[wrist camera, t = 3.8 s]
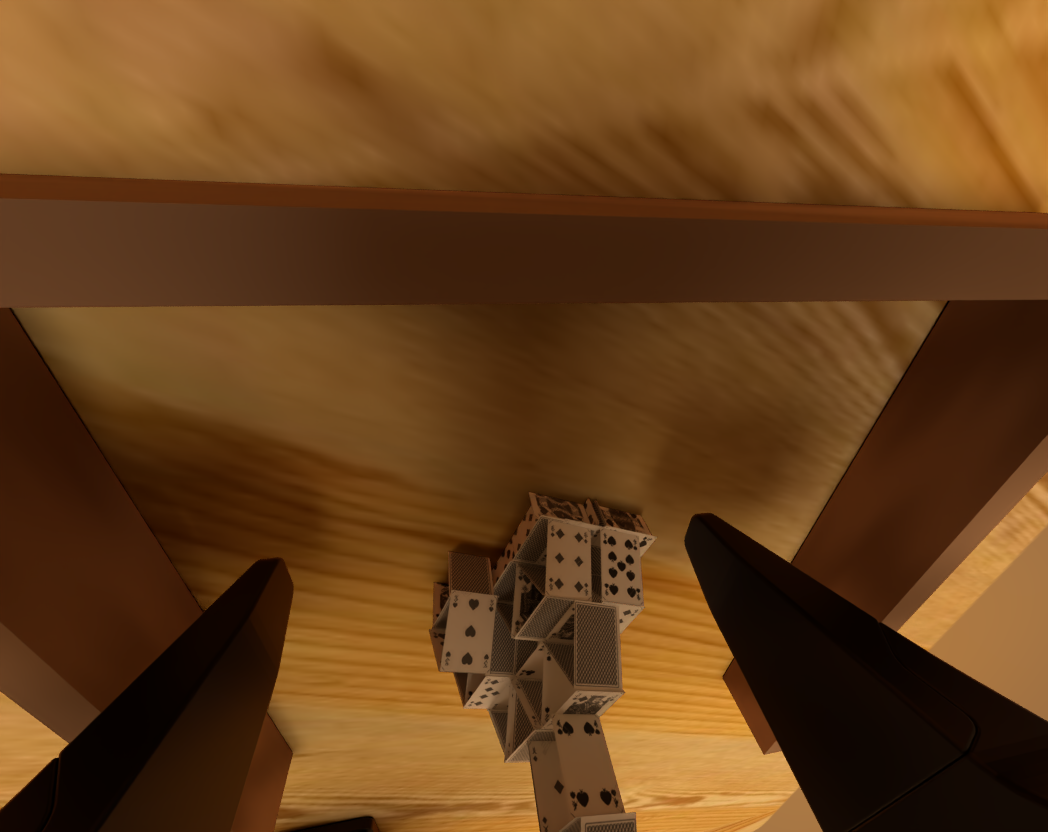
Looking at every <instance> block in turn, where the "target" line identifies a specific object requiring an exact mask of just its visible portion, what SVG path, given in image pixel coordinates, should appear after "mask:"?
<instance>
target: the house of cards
mask: <svg viewBox="0 0 1048 832" xmlns="http://www.w3.org/2000/svg"><path fill="white" fill-rule="evenodd" d="M528 493H529V497H530V501H531V506H530V508H529V510H528V511H527V513H526V515H525V516H524V518H523V520H522V521H521V523H520V525H519V526H518V528H517V530H516V531H515V533H514V535H513V536H512V538H511V540H510V542H509V543H508V545H507V547H506V548H505V550H504V552H503V553H502V555H501V557H500V558H499V560H498V562H497V563H496V565H495V567H494V568H493V570H492V571H491V564H490V558H487V557H480V556H474V555H468V554H462V553H456V552H450V551H448V555H449V584H443V583H435V582H434V594H433V627H432V629H429V632H430V636H431V641H432V645H433V649H434V653H435V657H436V661H437V666H438V670H439V671H440V672H453V673H454V676H455V679H456V683H457V686H458V690H459V693H460V697H461V700H462V703H463V708H466V709H488V710H487V711H489V714H490V716H491V719H492V722H493V725H494V727H495V730H496V733H497V736H498V738H499V741H500V744H501V747H502V749H503V752H504V755H505V760H504V763H513V762H530V764H531V771H532V779H533V786H534V793H535V800H536V807H537V814H538V821H539V828H540V832H637V829H636V812H632V813H625V810H624V806H623V803H622V799H621V795H620V792H619V788H618V785H617V781H616V777H615V774H614V770H613V766H612V763H611V759H610V755H609V752H608V748H607V745H606V741H605V737H604V734H603V730H602V726H601V723H600V719H599V717H600V716H601V715H602V714H603V713H604V712H605V711H606V710H607V709H608V708H610V707H611V706H612V705H613V704H614V703H615V702H616V701H617V700H618V699H619V698H620V697H621V696H622V695H623V694H624V693H625V692H624V690H623V689H622V669H621V646H620V634H621V633H622V632H623V631H624V630H625V628H626V627H627V626H628V625H629V624H630V623H631V622H632V621H633V620H634V619H635V618H636V616H637V615H638V614H639V613H640V612H641V611H642V610H643V609H644V608H645V607H644V601H643V587H642V573H641V559H640V558H641V557H642V555H643V554H644V553H645V552H646V551H647V549H648V548H649V547H650V546H651V545H652V543H653V542H654V541H655V540H656V539H657V537H656V536H652V534H651V533H650V531H649V529H648V527H647V525H646V523H645V522H644V520H643V518H642V516H640V515H635V514H631V513H627V512H623V511H618V510H614V509H610V508H606V507H601V506H599V504H598V502H597V500H595V501H594V503H593V504H591V501H590V499H589V498H588V499H587V501H586V502H585V504H584V505H582V504H578V503H574V502H569V501H565V500H561V499H557V498H552V497H548V496H544V495H539V494H535V493H531V492H528ZM612 602H614V603H612ZM619 603H621V604H619ZM627 604H628V605H627ZM634 605H635V606H634ZM641 606H642V607H641Z"/></svg>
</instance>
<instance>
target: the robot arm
mask: <svg viewBox="0 0 1048 832" xmlns="http://www.w3.org/2000/svg"><path fill="white" fill-rule="evenodd" d="M684 542H685V547H686V550H687V553H688V555H689V558H690V561H691V563H692V566H693V568H694V571H695V573H696V576H697V578H698V581H699V583H700V586H701V589H702V591H703V594H704V596H705V599H706V601H707V603H708V606H709V608H710V610H711V612H712V614H713V617H714V619H715V621H716V623H717V625H718V627H719V628H720V630H721V632H722V634H723V636H724V638H725V640H726V642H727V644H728V646H729V648H730V650H731V652H732V654H733V656H734V658H735V660H736V662H737V664H738V666H739V668H740V670H741V672H742V674H743V676H744V678H745V680H746V682H747V683H748V685H749V687H750V689H751V691H752V693H753V695H754V697H755V699H756V701H757V703H758V705H759V707H760V709H761V711H762V713H763V715H764V717H765V719H766V721H767V723H768V725H769V727H770V729H771V731H772V733H773V735H774V737H775V738H776V740H777V742H778V744H779V746H780V748H781V750H782V752H783V754H784V756H785V758H786V760H787V762H788V764H789V766H790V768H791V770H792V772H793V774H794V776H795V778H796V780H797V782H798V784H799V786H800V788H801V790H802V791H803V793H804V795H805V797H806V799H807V801H808V803H809V805H810V807H811V809H812V811H813V813H814V815H815V817H816V819H817V821H818V823H819V825H820V827H821V829H822V831H823V832H1048V721H1046V720H1044V719H1043V718H1041V717H1039V716H1037V715H1036V714H1034V713H1032V712H1030V711H1029V710H1027V709H1025V708H1023V707H1022V706H1020V705H1018V704H1016V703H1015V702H1013V701H1011V700H1010V699H1008V698H1006V697H1004V696H1002V695H1001V694H999V693H997V692H996V691H994V690H992V689H990V688H989V687H987V686H985V685H983V684H982V683H980V682H978V681H976V680H975V679H973V678H971V677H970V676H968V675H966V674H965V673H963V672H961V671H959V670H958V669H956V668H954V667H953V666H951V665H949V664H948V663H946V662H944V661H942V660H941V659H939V658H938V657H936V656H934V655H933V654H931V653H929V652H928V651H926V650H925V649H923V648H921V647H920V646H918V645H917V644H915V643H913V642H912V641H910V640H909V639H907V638H905V637H904V636H902V635H901V634H899V633H898V632H896V631H894V630H893V629H891V628H890V627H888V626H887V625H885V624H884V623H882V622H878V620H877V619H876V618H874V617H873V616H871V615H869V614H868V613H866V612H865V611H863V610H862V609H860V608H859V607H857V606H855V605H854V604H852V603H851V602H849V601H848V600H846V599H845V598H843V597H842V596H840V595H838V594H837V593H835V592H834V591H832V590H831V589H829V588H828V587H826V586H824V585H823V584H821V583H820V582H818V581H817V580H815V579H814V578H812V577H810V576H809V575H807V574H806V573H804V572H803V571H801V570H800V569H798V568H797V567H795V566H793V565H792V564H790V563H789V562H787V561H786V560H784V559H783V558H781V557H779V556H778V555H776V554H775V553H773V552H772V551H770V550H769V549H767V548H765V547H764V546H762V545H761V544H759V543H758V542H756V541H755V540H753V539H751V538H750V537H748V536H747V535H745V534H744V533H742V532H741V531H739V530H738V529H736V528H734V527H733V526H731V525H730V524H728V523H727V522H725V521H724V520H722V519H720V518H719V517H717V516H716V515H714V514H712V513H701V514H695V515H694V516H693V517H692V518H691V521H690V524H689V527H688V529H687V532H686V535H685V540H684ZM292 598H293V582H292V579H291V577H290V574H289V572H288V569H287V567H286V564H285V562H284V560H283V559H282V558H279V557H277V558H267V559H260V560H258V561H257V562H255V563H254V564H253V565H252V566H251V567H250V568H249V569H248V570H247V571H246V572H245V573H244V574H243V575H242V576H241V577H240V578H239V579H238V580H237V581H236V582H235V583H234V584H233V585H232V586H230V587H229V588H228V589H227V590H226V591H225V592H224V593H223V594H222V595H221V596H220V597H219V598H218V599H217V600H216V601H215V602H214V603H213V604H212V605H211V606H210V607H209V608H208V609H207V610H206V611H205V612H204V613H203V614H202V615H201V616H200V617H199V618H198V619H197V620H196V621H195V622H194V623H193V624H191V625H190V626H189V627H188V628H187V629H186V630H185V631H184V632H183V633H182V634H181V635H180V636H179V637H178V638H177V639H176V640H175V641H174V642H173V643H172V644H171V645H170V646H169V647H168V648H167V649H166V650H165V651H164V652H163V653H162V654H161V655H160V656H159V657H158V658H157V659H156V660H155V661H153V662H152V663H151V664H150V665H149V666H148V667H147V668H146V669H145V670H144V671H143V672H142V673H141V674H140V675H139V676H138V677H137V678H136V679H135V680H134V681H133V682H132V683H131V684H130V685H129V686H128V687H127V688H126V689H125V690H124V691H123V692H122V693H121V694H120V695H119V696H118V697H117V698H115V699H114V700H113V701H112V702H111V703H110V704H109V705H108V706H107V707H106V708H105V709H104V710H103V711H102V712H101V713H100V714H99V715H98V716H97V717H96V718H95V719H94V720H93V721H92V722H91V723H90V724H89V725H88V726H87V727H86V728H85V729H84V730H83V731H82V732H81V733H80V734H79V735H77V736H76V737H75V738H74V739H73V740H72V741H71V742H70V743H69V744H68V745H67V746H66V747H65V748H64V749H63V750H62V751H61V752H60V754H59V758H55V759H53V760H52V761H51V762H50V763H48V764H47V765H46V766H45V767H44V768H43V769H42V770H41V771H40V772H39V773H38V774H37V775H36V776H35V777H34V778H33V779H32V780H31V781H30V782H29V783H28V784H27V785H26V786H25V787H24V788H23V789H22V790H21V791H20V792H19V793H18V794H16V795H15V796H14V797H13V798H12V799H11V800H10V801H9V802H8V803H7V804H6V805H5V806H4V807H3V808H2V809H1V810H0V832H231V829H232V826H233V823H234V819H235V816H236V813H237V809H238V806H239V803H240V799H241V796H242V793H243V789H244V786H245V783H246V779H247V776H248V773H249V769H250V766H251V763H252V759H253V756H254V753H255V749H256V746H257V743H258V739H259V736H260V733H261V729H262V726H263V723H264V719H265V716H266V713H267V709H268V706H269V703H270V699H271V696H272V693H273V689H274V686H275V682H276V679H277V675H278V671H279V666H280V662H281V657H282V651H283V646H284V641H285V635H286V630H287V624H288V619H289V614H290V608H291V603H292ZM298 832H379V830H378V827H377V825H376V823H375V821H374V819H373V818H361V819H356V820H352V821H347V822H342V823H337V824H332V825H327V826H322V827H317V828H313V829H308V830H303V831H298Z"/></svg>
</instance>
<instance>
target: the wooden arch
mask: <svg viewBox="0 0 1048 832" xmlns="http://www.w3.org/2000/svg"><path fill="white" fill-rule="evenodd" d="M927 300H950V302H949V303H948V305H947V307H946V308H945V310H944V312H943V313H942V315H941V317H940V318H939V320H938V322H937V323H936V325H935V327H934V328H933V330H932V332H931V333H930V335H929V337H928V338H927V340H926V341H925V343H924V345H923V346H922V348H921V350H920V351H919V353H918V355H917V356H916V358H915V360H914V361H913V363H912V365H911V366H910V368H909V370H908V371H907V373H906V375H905V376H904V378H903V380H902V381H901V383H900V385H899V386H898V388H897V390H896V391H895V393H894V395H893V396H892V398H891V400H890V401H889V403H888V405H887V406H886V408H885V410H884V411H883V413H882V414H881V416H880V418H879V419H878V421H877V423H876V424H875V426H874V428H873V429H872V431H871V433H870V434H869V436H868V438H867V439H866V441H865V443H864V444H863V446H862V448H861V449H860V451H859V453H858V454H857V456H856V458H855V459H854V461H853V463H852V464H851V466H850V468H849V469H848V471H847V473H846V474H845V476H844V478H843V479H842V481H841V482H840V484H839V486H838V487H837V489H836V491H835V492H834V494H833V496H832V497H831V499H830V501H829V502H828V504H827V506H826V507H825V509H824V511H823V512H822V514H821V516H820V517H819V519H818V521H817V522H816V524H815V526H814V527H813V529H812V531H811V532H810V534H809V536H808V537H807V539H806V541H805V542H804V544H803V546H802V547H801V549H800V551H799V552H798V554H797V555H796V557H795V559H794V560H793V562H792V565H793V566H795V567H797V568H798V569H800V570H801V571H803V572H804V573H806V574H807V575H809V576H810V577H812V578H814V579H815V580H817V581H818V582H820V583H821V584H823V585H824V586H826V587H828V588H829V589H831V590H832V591H834V592H835V593H837V594H838V595H840V596H842V597H843V598H845V599H846V600H848V601H849V602H851V603H852V604H854V605H855V606H857V607H859V608H860V609H862V610H863V611H865V612H866V613H868V614H869V615H871V616H873V617H874V618H876V619H877V620H878V622H882V623H884V624H885V625H887V626H888V627H890V628H891V629H893V630H894V631H896V632H897V631H898V630H899V629H900V628H901V626H902V625H903V624H904V623H905V622H906V621H907V620H908V619H909V618H910V617H911V616H912V615H913V614H914V613H915V612H916V611H917V609H918V608H919V607H920V606H921V605H922V604H923V603H924V602H925V601H926V600H927V599H928V598H929V597H930V596H931V595H932V594H933V592H934V591H935V590H936V589H937V588H938V587H939V586H940V585H941V584H942V583H943V582H944V581H945V580H946V579H947V578H948V577H949V575H950V574H951V573H952V572H953V571H954V570H955V569H956V568H957V567H958V566H959V565H960V564H961V563H962V562H963V561H964V560H965V558H966V557H967V556H968V555H969V554H970V553H971V552H972V551H973V550H974V549H975V548H976V547H977V546H978V545H979V544H980V543H981V541H982V540H983V539H984V538H985V537H986V536H987V535H988V534H989V533H990V532H991V531H992V530H993V529H994V528H995V527H996V526H997V524H998V523H999V522H1000V521H1001V520H1002V519H1003V518H1004V517H1005V516H1006V515H1007V514H1008V513H1009V512H1010V511H1011V510H1012V509H1013V507H1014V506H1015V505H1016V504H1017V503H1018V502H1019V501H1020V500H1021V499H1022V498H1023V497H1024V496H1025V495H1026V494H1027V493H1028V492H1029V490H1030V489H1031V488H1032V487H1033V486H1034V485H1035V484H1036V483H1037V482H1038V481H1039V480H1040V479H1041V478H1042V477H1043V476H1044V475H1045V473H1046V472H1047V471H1048V214H1047V213H1032V212H1005V211H978V210H952V209H925V208H899V207H872V206H845V205H819V204H792V203H766V202H739V201H712V200H686V199H659V198H633V197H606V196H579V195H553V194H526V193H500V192H473V191H446V190H420V189H393V188H367V187H340V186H313V185H287V184H260V183H234V182H207V181H180V180H154V179H127V178H101V177H74V176H47V175H21V174H0V691H1V692H2V693H3V694H5V695H6V696H7V697H9V698H10V699H11V700H13V701H14V702H15V703H17V704H18V705H19V706H20V707H22V708H23V709H24V710H26V711H27V712H28V713H30V714H31V715H32V716H34V717H35V718H36V719H38V720H39V721H40V722H42V723H43V724H44V725H45V726H47V727H48V728H49V729H51V730H52V731H53V732H55V733H56V734H57V735H59V736H60V737H61V738H63V739H64V740H65V741H67V742H68V743H70V742H71V741H72V740H73V739H74V738H75V737H76V736H77V735H79V734H80V733H81V732H82V731H83V730H84V729H85V728H86V727H87V726H88V725H89V724H90V723H91V722H92V721H93V720H94V719H95V718H96V717H97V716H98V715H99V714H100V713H101V712H102V711H103V710H104V709H105V708H106V707H107V706H108V705H109V704H110V703H111V702H112V701H113V700H114V699H115V698H117V697H118V696H119V695H120V694H121V693H122V692H123V691H124V690H125V689H126V688H127V687H128V686H129V685H130V684H131V683H132V682H133V681H134V680H135V679H136V678H137V677H138V676H139V675H140V674H141V673H142V672H143V671H144V670H145V669H146V668H147V667H148V666H149V665H150V664H151V663H152V662H153V661H155V660H156V659H157V658H158V657H159V656H160V655H161V654H162V653H163V652H164V651H165V650H166V649H167V648H168V647H169V646H170V645H171V644H172V643H173V642H174V641H175V640H176V639H177V638H178V637H179V636H180V635H181V634H182V633H183V632H184V631H185V630H186V629H187V628H188V627H189V626H190V625H191V624H193V623H194V622H195V621H196V620H197V619H198V618H199V617H200V616H201V615H202V614H203V612H202V610H201V609H200V607H199V606H198V604H197V603H196V601H195V599H194V598H193V596H192V595H191V593H190V592H189V590H188V588H187V587H186V585H185V584H184V582H183V581H182V579H181V577H180V576H179V574H178V573H177V571H176V570H175V568H174V566H173V565H172V563H171V562H170V560H169V559H168V557H167V555H166V554H165V552H164V551H163V549H162V548H161V546H160V544H159V543H158V541H157V540H156V538H155V537H154V535H153V534H152V532H151V530H150V529H149V527H148V526H147V524H146V523H145V521H144V519H143V518H142V516H141V515H140V513H139V512H138V510H137V508H136V507H135V505H134V504H133V502H132V501H131V499H130V497H129V496H128V494H127V493H126V491H125V490H124V488H123V486H122V485H121V483H120V482H119V480H118V479H117V477H116V475H115V474H114V472H113V471H112V469H111V468H110V466H109V464H108V463H107V461H106V460H105V458H104V457H103V455H102V453H101V452H100V450H99V449H98V447H97V446H96V444H95V442H94V441H93V439H92V438H91V436H90V435H89V433H88V432H87V430H86V428H85V427H84V425H83V424H82V422H81V421H80V419H79V417H78V416H77V414H76V413H75V411H74V410H73V408H72V406H71V405H70V403H69V402H68V400H67V399H66V397H65V395H64V394H63V392H62V391H61V389H60V388H59V386H58V384H57V383H56V381H55V380H54V378H53V377H52V375H51V373H50V372H49V370H48V369H47V367H46V366H45V364H44V362H43V361H42V359H41V358H40V356H39V355H38V353H37V351H36V350H35V348H34V347H33V345H32V344H31V342H30V340H29V339H28V337H27V336H26V334H25V333H24V331H23V330H22V328H21V326H20V325H19V323H18V322H17V320H16V319H15V317H14V315H13V314H12V312H11V311H10V309H9V308H18V307H148V306H278V305H408V304H538V303H668V302H798V301H927ZM723 680H724V681H725V683H726V685H727V687H728V689H729V691H730V693H731V694H732V696H733V698H734V700H735V702H736V704H737V706H738V707H739V709H740V711H741V713H742V715H743V717H744V719H745V720H746V722H747V724H748V726H749V728H750V730H751V732H752V734H753V735H754V737H755V739H756V741H757V743H758V745H759V747H760V748H761V750H762V752H763V754H764V755H765V754H770V753H774V752H779V751H782V750H781V748H780V746H779V744H778V742H777V740H776V738H775V737H774V735H773V733H772V731H771V729H770V727H769V725H768V723H767V721H766V719H765V717H764V715H763V713H762V711H761V709H760V707H759V705H758V703H757V701H756V699H755V697H754V695H753V693H752V691H751V689H750V687H749V685H748V683H747V682H746V680H745V678H744V676H743V674H742V672H741V670H740V668H739V666H738V664H737V662H736V660H735V658H734V660H733V662H732V663H731V665H730V667H729V668H728V670H727V672H726V673H725V675H724V677H723ZM292 755H293V753H292V752H291V750H290V748H289V747H288V745H287V744H286V742H285V741H284V739H283V738H282V736H281V734H280V733H279V731H278V730H277V728H276V727H275V725H274V723H273V722H272V720H271V719H270V717H269V716H268V714H267V713H266V716H265V719H264V723H263V726H262V729H261V733H260V736H259V739H258V743H257V746H256V749H255V753H254V756H253V759H252V763H251V766H250V769H249V773H248V776H247V779H246V783H245V786H244V789H243V793H242V796H241V799H240V803H239V806H238V809H237V813H236V816H235V819H234V823H233V826H232V829H231V832H273V831H274V827H275V823H276V819H277V815H278V811H279V807H280V803H281V799H282V795H283V791H284V787H285V783H286V779H287V775H288V771H289V767H290V763H291V759H292Z"/></svg>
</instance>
